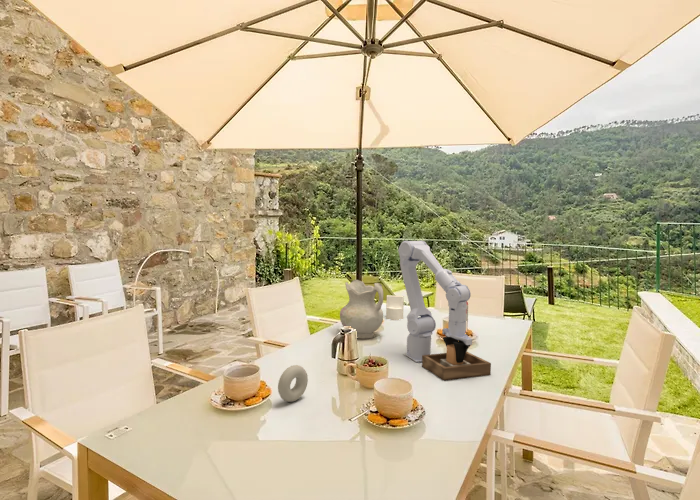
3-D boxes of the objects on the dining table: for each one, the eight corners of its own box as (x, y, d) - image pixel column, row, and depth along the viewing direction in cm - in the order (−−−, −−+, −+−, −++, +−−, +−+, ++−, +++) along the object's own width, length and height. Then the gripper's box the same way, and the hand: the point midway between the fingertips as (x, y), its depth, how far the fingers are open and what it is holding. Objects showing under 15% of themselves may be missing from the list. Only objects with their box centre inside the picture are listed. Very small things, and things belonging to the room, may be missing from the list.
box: (421, 366, 145) (422, 355, 145) (465, 361, 151) (465, 350, 151) (444, 381, 132) (444, 368, 132) (490, 374, 138) (491, 363, 138)
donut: (283, 408, 110) (283, 371, 110) (274, 404, 112) (275, 368, 112) (310, 397, 118) (310, 362, 117) (301, 393, 120) (302, 360, 119)
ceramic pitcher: (394, 337, 185) (397, 282, 186) (373, 344, 169) (377, 283, 169) (353, 330, 197) (356, 278, 197) (330, 336, 180) (333, 279, 181)
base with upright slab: (385, 319, 215) (385, 297, 215) (386, 316, 224) (387, 294, 223) (402, 320, 214) (403, 297, 213) (403, 317, 223) (404, 295, 222)
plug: (446, 364, 143) (446, 344, 142) (456, 363, 144) (456, 343, 144) (452, 368, 139) (453, 348, 138) (462, 367, 140) (463, 347, 140)
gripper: (435, 316, 146) (434, 354, 147) (459, 326, 132) (458, 368, 133) (452, 315, 148) (451, 352, 149) (478, 325, 135) (476, 366, 136)
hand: (455, 360), depth 141 cm, fingers closed on plug, 4 cm apart
